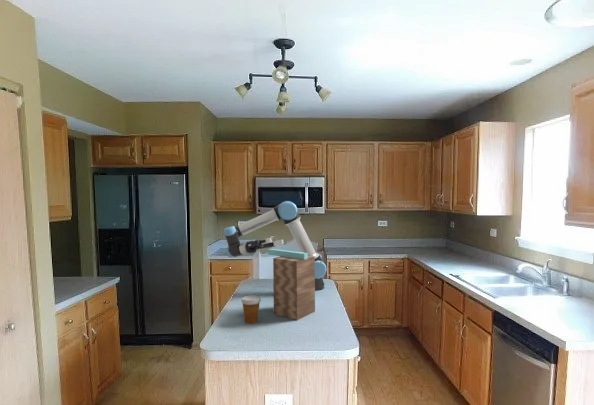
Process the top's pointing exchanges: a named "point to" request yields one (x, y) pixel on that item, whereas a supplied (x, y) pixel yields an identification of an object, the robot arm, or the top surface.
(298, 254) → the bar
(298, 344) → the top surface
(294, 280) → the stand
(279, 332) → the top surface
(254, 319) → the disposable coffee cup
